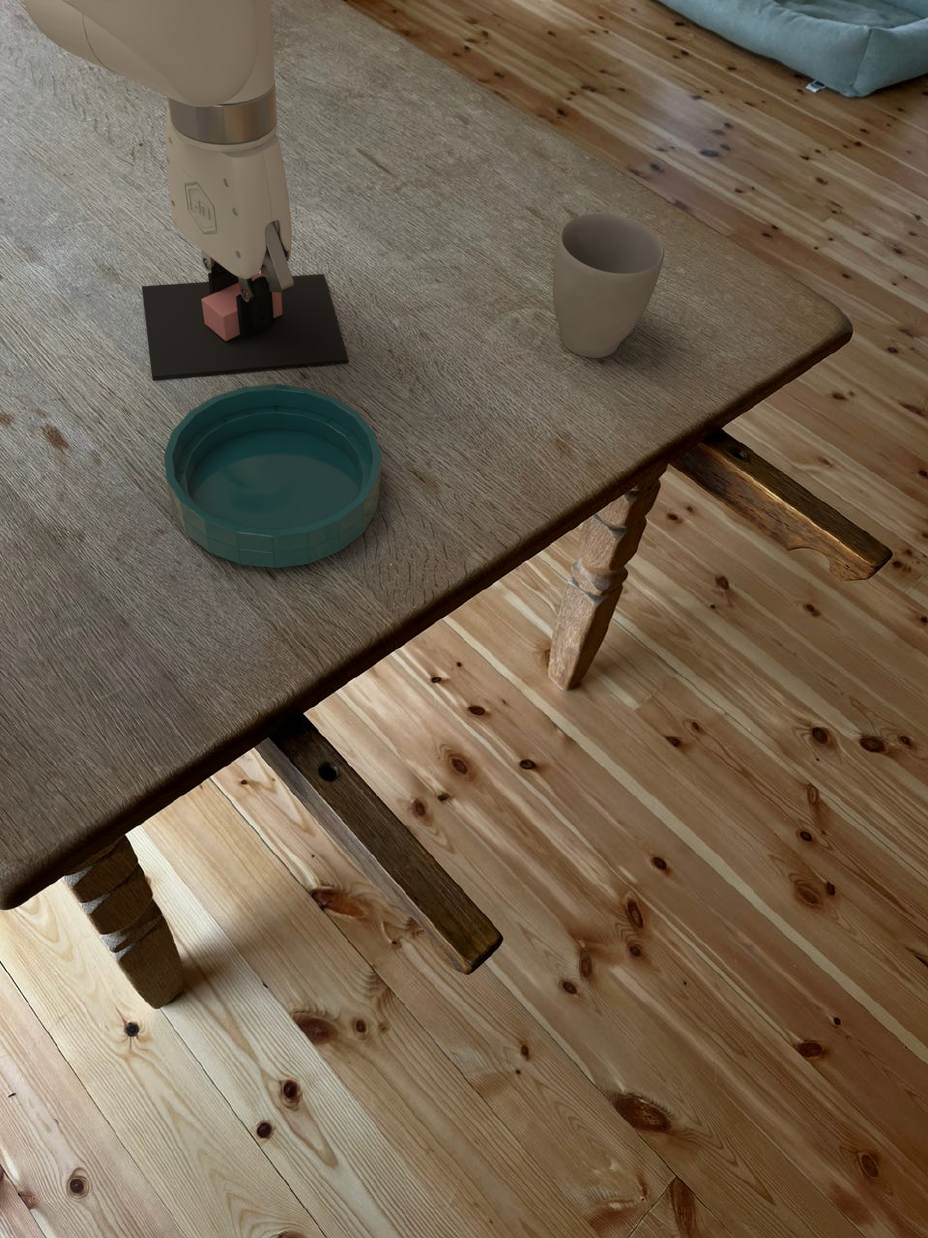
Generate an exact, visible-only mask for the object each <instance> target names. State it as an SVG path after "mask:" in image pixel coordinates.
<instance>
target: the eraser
mask: <svg viewBox="0 0 928 1238" xmlns="http://www.w3.org/2000/svg"><path fill="white" fill-rule="evenodd" d="M260 276H261V272H259V273H258V274H257V275H255V276H252V281H253V280H255V279H256V278H258V277H260ZM239 294H241V293H240V287H239V283H237V284H234V285H232V286H230V287H228V288H225V289H223V290H221V291H219V292H216V293H214V294H212V295H209V296H207V297H205V298H203V299H202V307H203V314H204V322H205V324H206V325H207V326H208V327H210V328H211V329H212V330H213V331H214V332H215V333H217V334H218V335H219V336H220V337H221V338H223V339H224V340H225V341H227V340H230V339H232V338H234V337H236V336H238V335H240V331H239V321H238V312H237V302H236V296H238V295H239ZM272 300H273V315H274V318H276V317H278V316H280V315H282V298H281V293H278V292H272Z"/></svg>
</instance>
